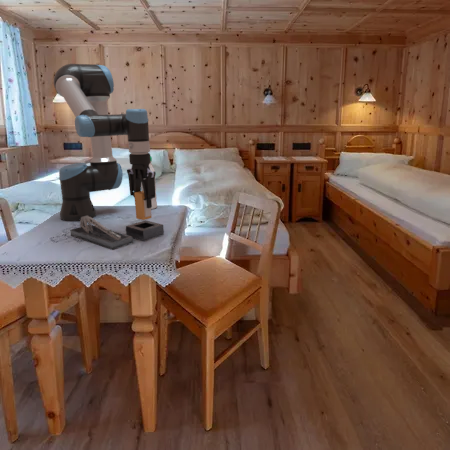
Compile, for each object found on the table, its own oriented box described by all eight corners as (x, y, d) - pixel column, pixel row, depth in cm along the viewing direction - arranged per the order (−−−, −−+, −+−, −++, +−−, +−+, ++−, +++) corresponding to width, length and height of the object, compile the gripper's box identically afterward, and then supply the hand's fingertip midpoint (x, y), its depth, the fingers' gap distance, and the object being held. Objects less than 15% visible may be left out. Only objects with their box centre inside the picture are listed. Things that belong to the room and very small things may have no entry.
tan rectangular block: (136, 218, 154) (134, 192, 151) (144, 216, 157) (142, 190, 154) (143, 220, 151) (141, 193, 148) (151, 217, 154) (149, 191, 151)
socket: (126, 236, 155) (125, 226, 154) (146, 229, 163) (145, 220, 162) (143, 241, 149) (143, 230, 148) (163, 234, 157) (163, 224, 156)
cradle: (70, 235, 157) (70, 229, 156) (90, 229, 163) (90, 224, 163) (112, 249, 141) (112, 243, 141) (132, 242, 148) (132, 236, 147)
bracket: (86, 225, 160) (90, 204, 155) (118, 256, 150) (123, 235, 145) (79, 227, 157) (82, 205, 152) (111, 259, 148) (116, 237, 143)
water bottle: (141, 206, 199) (137, 155, 192) (155, 205, 201) (152, 154, 194) (143, 210, 193) (140, 157, 186) (158, 208, 195) (155, 156, 188)
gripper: (116, 152, 149) (121, 213, 156) (147, 155, 139) (151, 221, 146) (132, 150, 155) (136, 209, 162) (163, 153, 145) (166, 216, 152)
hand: (143, 215), depth 154 cm, fingers closed on tan rectangular block, 4 cm apart
